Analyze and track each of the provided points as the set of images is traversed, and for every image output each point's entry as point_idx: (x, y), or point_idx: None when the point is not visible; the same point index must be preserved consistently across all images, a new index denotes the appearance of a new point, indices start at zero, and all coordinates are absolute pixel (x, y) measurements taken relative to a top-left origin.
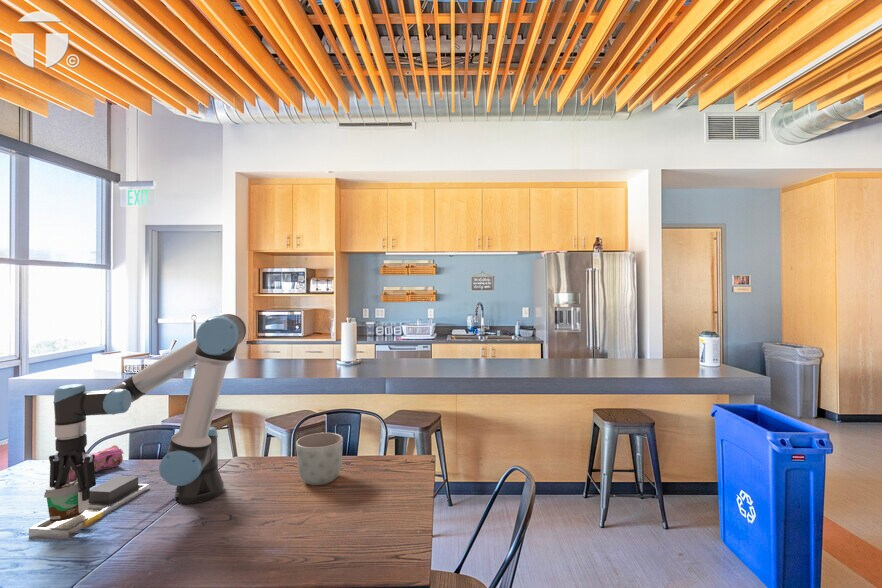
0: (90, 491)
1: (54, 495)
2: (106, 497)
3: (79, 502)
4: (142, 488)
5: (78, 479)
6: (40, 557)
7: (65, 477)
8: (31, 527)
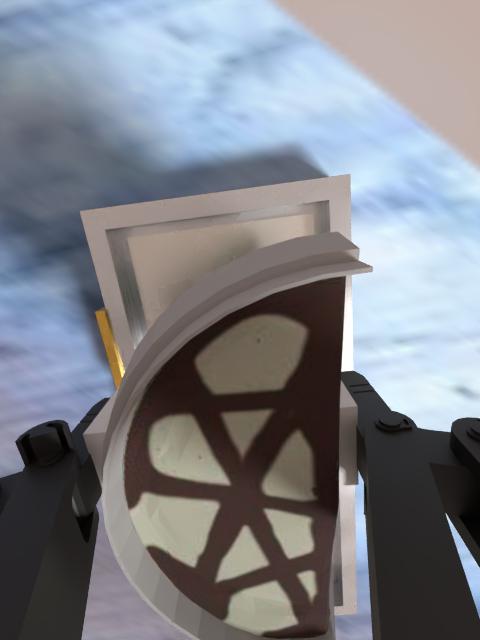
0: None
1: (215, 276)
2: None
3: None
4: None
5: (11, 581)
6: (45, 25)
7: (373, 596)
8: (345, 188)
